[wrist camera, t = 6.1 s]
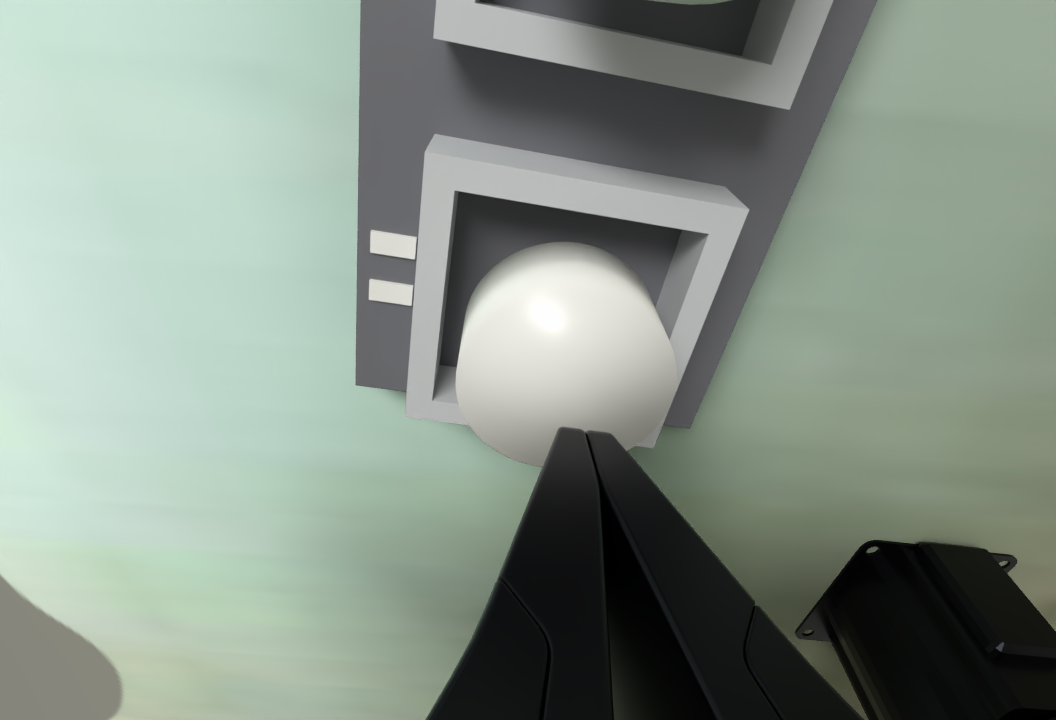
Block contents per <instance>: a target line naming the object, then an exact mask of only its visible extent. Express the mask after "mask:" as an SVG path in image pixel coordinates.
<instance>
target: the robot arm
mask: <svg viewBox="0 0 1056 720" xmlns="http://www.w3.org/2000/svg"><path fill="white" fill-rule="evenodd" d="M875 546H877V547H879V548H878V550H877V551H876V552H873V553H867V552H866V551H867V550H868V549H869V548H871V547H875ZM1002 561H1009V562H1008V563H1007V564H1006V565H1004V566H1002V567H1001V566H1000V565H999V564H998V563H1000V562H1002ZM1016 564H1017V559H1016V558H1015V557H1014V556H1012V555H1008V554H999V553H990V552H988V551H987V550H986V549H981V548H974V547H965V546H956V545H947V544H938V543H929V542H921V543H920V544H919V545H918V544H909V543H900V542H891V541H882V540H873V541H869V542H866V543H864V544H863V545H862V546H861V547H860V548H859V549H858V550H857V551H856V553H855V554H854V555H853V557H852V558H851V559H850V561H849V562H848V563H847V564H846V566H845V567H844V568H843V570H842V571H841V572H840V574H839V575H838V576H837V577H836V579H835V580H834V581H833V583H832V584H831V585H830V587H829V588H828V589H827V590H826V592H825V593H824V594H823V596H822V597H821V598H820V600H819V601H818V602H817V603H816V605H815V606H814V607H813V609H812V610H811V611H810V613H809V614H808V615H807V616H806V618H805V619H804V620H803V622H802V623H801V624H800V626H799V627H798V628H797V629H796V632H795V633H796V636H797V637H798V638H799V639H805V640H817V641H828V642H831V643H832V645H833V647H834V649H835V651H836V653H837V655H838V657H839V659H840V661H841V663H842V665H843V668H844V670H845V672H846V674H847V676H848V678H849V680H850V682H851V684H852V686H853V688H854V690H855V692H856V694H857V697H858V699H859V701H860V703H861V705H862V707H863V709H864V711H865V713H866V715H867V717H868V719H869V720H1056V631H1055V630H1054V629H1053V628H1052V627H1051V625H1050V624H1049V623H1048V622H1047V621H1046V620H1045V618H1044V617H1043V616H1042V615H1041V614H1040V612H1039V611H1038V610H1037V609H1036V608H1035V606H1034V605H1033V604H1032V603H1031V602H1030V600H1029V599H1028V598H1027V597H1026V596H1025V595H1024V593H1023V592H1022V591H1021V590H1020V589H1019V587H1018V586H1017V585H1016V584H1015V583H1014V581H1013V580H1012V579H1011V578H1010V577H1009V575H1008V574H1007V573H1008V572H1009V571H1010V570H1011V569H1012V568H1013V567H1014V566H1015V565H1016ZM754 605H755V601H754V599H753V598H752V597H751V596H750V595H749V594H748V592H747V591H746V590H745V589H744V588H743V587H742V585H741V584H740V583H739V582H738V581H737V580H736V578H735V577H734V576H733V575H732V574H731V572H730V571H729V570H728V569H727V568H726V567H725V565H724V564H723V563H722V562H721V561H720V560H719V558H718V557H717V556H716V555H715V554H714V553H713V551H712V550H711V549H710V548H709V547H708V546H707V544H706V543H705V542H704V541H703V540H702V539H701V537H700V536H699V535H698V534H697V533H696V532H695V530H694V529H693V528H692V527H691V526H690V524H689V523H688V522H687V521H686V520H685V519H684V517H683V516H682V515H681V514H680V513H679V512H678V510H677V509H676V508H675V507H674V506H673V505H672V503H671V502H670V501H669V500H668V499H667V498H666V496H665V495H664V494H663V493H662V492H661V491H660V489H659V488H658V487H657V486H656V485H655V484H654V482H653V481H652V480H651V479H650V478H649V476H648V475H647V474H646V473H645V472H644V471H643V469H642V468H641V467H640V466H639V465H638V464H637V462H636V461H635V460H634V459H633V458H632V457H631V455H630V454H629V453H628V452H627V451H626V450H625V448H624V447H623V446H622V445H621V444H620V443H619V441H618V440H617V439H616V438H615V437H614V436H613V435H612V434H611V433H608V432H602V431H594V430H588V431H586V432H585V431H583V430H582V429H578V428H570V427H559V428H558V430H557V432H556V435H555V437H554V440H553V442H552V445H551V447H550V450H549V452H548V455H547V457H546V460H545V462H544V465H543V467H542V470H541V472H540V475H539V477H538V479H537V482H536V484H535V487H534V489H533V492H532V494H531V497H530V499H529V502H528V504H527V507H526V509H525V512H524V514H523V517H522V519H521V522H520V524H519V527H518V529H517V532H516V534H515V537H514V539H513V542H512V544H511V547H510V549H509V551H508V554H507V556H506V559H505V561H504V564H503V566H502V569H501V571H500V574H499V576H498V580H497V582H496V583H495V585H494V588H493V590H492V593H491V595H490V598H489V600H488V603H487V605H486V608H485V610H484V612H483V614H482V616H481V619H480V621H479V623H478V625H477V627H476V630H475V632H474V634H473V636H472V639H471V641H470V642H469V644H468V646H467V648H466V650H465V652H464V653H463V655H462V657H461V659H460V661H459V663H458V664H457V666H456V668H455V670H454V672H453V674H452V675H451V677H450V679H449V681H448V682H447V684H446V686H445V687H444V689H443V691H442V693H441V694H440V696H439V698H438V699H437V701H436V703H435V704H434V706H433V708H432V710H431V711H430V713H429V715H428V716H427V718H426V720H864V719H863V718H862V717H861V716H860V715H859V714H858V713H857V712H856V711H855V710H854V709H853V708H852V707H851V706H850V705H849V704H848V703H847V702H846V701H845V700H844V699H843V698H842V697H841V696H840V695H839V694H838V693H837V691H836V690H835V689H834V688H833V687H832V686H831V685H830V684H829V683H828V682H827V681H826V680H825V679H824V678H823V677H822V676H821V675H820V674H819V673H818V672H817V671H816V670H815V669H814V667H813V666H812V665H811V664H810V663H809V662H808V661H807V660H806V659H805V658H804V656H803V655H802V654H801V653H800V652H799V651H798V650H797V649H796V647H795V646H794V645H793V644H792V643H791V642H790V641H789V640H788V638H787V637H786V636H785V635H784V634H783V633H782V632H781V631H780V630H779V628H778V627H777V626H776V625H775V624H774V623H773V621H772V620H771V619H770V618H769V617H768V615H767V614H766V613H765V612H764V611H763V610H762V608H761V607H760V606H758V605H756V606H754ZM809 629H811V630H813V631H812V632H811V633H809V634H802V632H804V631H805V630H809Z"/></svg>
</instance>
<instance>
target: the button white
mask: <svg viewBox="0 0 1056 720" xmlns="http://www.w3.org/2000/svg"><path fill="white" fill-rule="evenodd" d="M676 382H677V365H676V359H675V355H674V352H673V349H672V346H671V343H670V341H669V339H668V336H667V334H666V332H665V329H664V327H663V325H662V323H661V320H660V318H659V316H658V313H657V311H656V309H655V307H654V304H653V302H652V300H651V297H650V295H649V293H648V291H647V289H646V287H645V285H644V283H643V282H642V280H641V279H640V278H639V276H638V275H637V274H636V272H635V271H634V270H633V269H632V268H631V267H630V266H629V265H627V264H626V263H625V262H624V261H622V260H621V259H619V258H618V257H617V256H615V255H613V254H611V253H609V252H607V251H605V250H603V249H600V248H597V247H595V246H591V245H586V244H582V243H574V242H551V243H544V244H539V245H535V246H532V247H528V248H525V249H523V250H520V251H518V252H516V253H514V254H512V255H510V256H508V257H507V258H505V259H503V260H502V261H501V262H499V263H498V264H497V265H495V266H494V267H493V268H492V269H491V270H490V271H489V272H488V273H487V274H486V275H485V276H484V277H483V278H482V280H481V281H480V282H479V284H478V285H477V286H476V288H475V290H474V292H473V294H472V295H471V298H470V300H469V303H468V306H467V309H466V314H465V319H464V325H463V332H462V338H461V344H460V351H459V357H458V364H457V370H456V383H455V386H456V395H457V399H458V403H459V407H460V409H461V411H462V414H463V416H464V418H465V420H466V421H467V423H468V424H469V426H470V427H471V429H472V430H473V431H474V432H475V433H476V434H477V436H478V437H479V438H480V439H482V440H483V441H484V442H485V443H486V444H487V445H489V446H490V447H492V448H493V449H494V450H496V451H497V452H499V453H501V454H503V455H505V456H507V457H509V458H511V459H514V460H517V461H519V462H522V463H526V464H530V465H534V466H540V467H543V465H544V462H545V460H546V457H547V455H548V452H549V450H550V447H551V445H552V442H553V440H554V437H555V435H556V432H557V430H558V428H559V427H570V428H578V429H582V430H583V431H585V432H586V431H588V430H594V431H602V432H608V433H611V434H612V435H613V436H614V437H615V438H616V439H617V440H618V441H619V443H620V444H621V445H622V446H623V447H624V448H625V450H626V451H628V450H629V449H631V448H633V447H634V446H635V445H637V444H638V443H640V442H641V441H642V440H644V439H645V438H646V437H647V436H648V435H649V434H650V433H651V432H652V431H653V430H654V429H655V428H656V427H657V425H658V424H659V423H660V422H661V420H662V419H663V417H664V416H665V414H666V413H667V411H668V408H669V406H670V404H671V402H672V399H673V396H674V393H675V389H676Z"/></svg>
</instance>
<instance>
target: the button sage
mask: <svg viewBox="0 0 1056 720" xmlns="http://www.w3.org/2000/svg"><path fill="white" fill-rule="evenodd" d="M649 1H656V2H667V3H678V4H689V5H694V4H714V3H720V2H726V1H732V0H649Z"/></svg>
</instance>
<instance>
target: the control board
mask: <svg viewBox="0 0 1056 720" xmlns="http://www.w3.org/2000/svg"><path fill="white" fill-rule="evenodd" d="M876 2H877V0H732V1H726V2H720V3H714V4H694V5H689V4H678V3H667V2H656V1H649V0H361V20H360V95H359V169H358V243H357V318H356V385H358V386H365V387H373V388H381V389H388V390H396V391H404V392H407V394H406V407H405V417H408V418H416V419H424V420H432V421H440V422H448V423H456V424H464V425H469V424H468V423H467V421H466V420H465V418H464V416H463V414H462V411H461V409H460V407H459V403H458V399H457V395H456V386H455V383H456V370H457V364H458V357H459V351H460V344H461V338H462V332H463V325H464V319H465V314H466V309H467V306H468V303H469V300H470V298H471V295H472V294H473V292H474V290H475V288H476V286H477V285H478V284H479V282H480V281H481V280H482V278H483V277H484V276H485V275H486V274H487V273H488V272H489V271H490V270H491V269H492V268H493V267H494V266H495V265H497V264H498V263H499V262H501V261H502V260H503V259H505V258H507V257H508V256H510V255H512V254H514V253H516V252H518V251H520V250H523V249H525V248H528V247H532V246H535V245H539V244H544V243H551V242H574V243H582V244H586V245H591V246H595V247H597V248H600V249H603V250H605V251H607V252H609V253H611V254H613V255H615V256H617V257H618V258H619V259H621V260H622V261H624V262H625V263H626V264H627V265H629V266H630V267H631V268H632V269H633V270H634V271H635V272H636V274H637V275H638V276H639V278H640V279H641V280H642V282H643V283H644V285H645V287H646V289H647V291H648V293H649V295H650V297H651V300H652V302H653V304H654V307H655V309H656V311H657V313H658V316H659V318H660V320H661V323H662V325H663V327H664V329H665V332H666V334H667V336H668V339H669V341H670V343H671V346H672V349H673V352H674V355H675V359H676V365H677V382H676V389H675V393H674V396H673V399H672V402H671V404H670V406H669V408H668V411H667V413H666V414H665V416H664V417H663V419H662V420H661V422H660V423H659V424H658V425H657V427H656V428H655V429H654V430H653V431H652V432H651V433H650V434H649V435H648V436H647V437H646V438H645V439H644V440H642V441H641V442H640V443H638V444H637V445H635V446H640V447H648V448H654V446H655V443H656V441H657V438H658V436H659V433H660V431H661V428H662V426H663V425H665V426H673V427H681V428H688V429H690V427H691V424H692V422H693V420H694V418H695V415H696V413H697V411H698V409H699V406H700V404H701V402H702V399H703V397H704V395H705V393H706V390H707V388H708V386H709V383H710V381H711V379H712V377H713V374H714V372H715V370H716V367H717V365H718V363H719V361H720V358H721V356H722V354H723V351H724V349H725V347H726V345H727V342H728V340H729V338H730V335H731V333H732V331H733V329H734V326H735V324H736V322H737V319H738V317H739V315H740V313H741V310H742V308H743V306H744V303H745V301H746V299H747V297H748V294H749V292H750V290H751V287H752V285H753V283H754V281H755V278H756V276H757V274H758V271H759V269H760V267H761V265H762V262H763V260H764V258H765V255H766V253H767V251H768V249H769V246H770V244H771V242H772V239H773V237H774V235H775V233H776V230H777V228H778V226H779V223H780V221H781V219H782V217H783V214H784V212H785V210H786V208H787V205H788V203H789V201H790V198H791V196H792V194H793V192H794V189H795V187H796V185H797V182H798V180H799V178H800V176H801V173H802V171H803V169H804V166H805V164H806V162H807V160H808V157H809V155H810V153H811V150H812V148H813V146H814V144H815V141H816V139H817V137H818V134H819V132H820V130H821V128H822V125H823V123H824V121H825V118H826V116H827V114H828V112H829V109H830V107H831V105H832V102H833V100H834V98H835V96H836V93H837V91H838V89H839V86H840V84H841V82H842V80H843V77H844V75H845V73H846V70H847V68H848V66H849V64H850V61H851V59H852V57H853V54H854V52H855V50H856V48H857V45H858V43H859V41H860V38H861V36H862V34H863V32H864V29H865V27H866V25H867V22H868V20H869V18H870V16H871V13H872V11H873V9H874V7H875V4H876Z"/></svg>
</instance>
